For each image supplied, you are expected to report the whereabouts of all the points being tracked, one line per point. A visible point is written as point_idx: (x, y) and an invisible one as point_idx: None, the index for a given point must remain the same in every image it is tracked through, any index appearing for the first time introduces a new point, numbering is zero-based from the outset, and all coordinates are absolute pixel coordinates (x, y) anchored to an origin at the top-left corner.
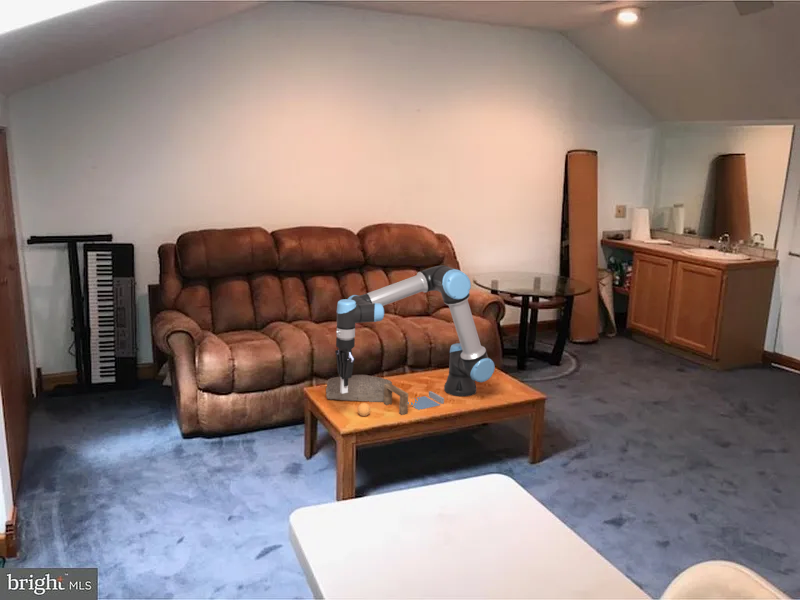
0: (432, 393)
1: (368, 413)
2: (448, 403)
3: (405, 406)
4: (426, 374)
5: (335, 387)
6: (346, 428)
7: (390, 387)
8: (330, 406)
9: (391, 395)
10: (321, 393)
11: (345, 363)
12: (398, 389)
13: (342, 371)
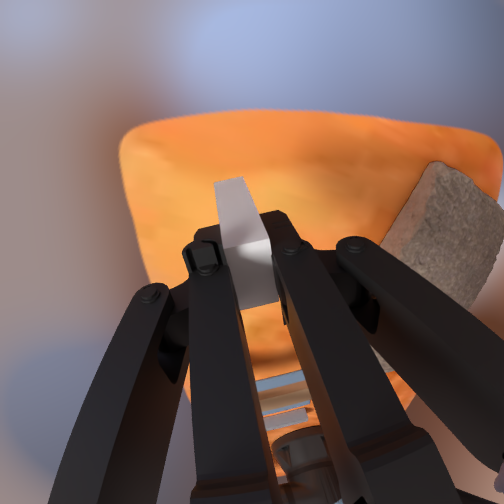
0: (293, 422)
1: None
2: None
3: None
4: (403, 402)
5: (456, 211)
6: (123, 145)
7: (298, 391)
8: (376, 147)
9: None
10: (472, 165)
11: (204, 484)
12: (268, 406)
13: (290, 308)
